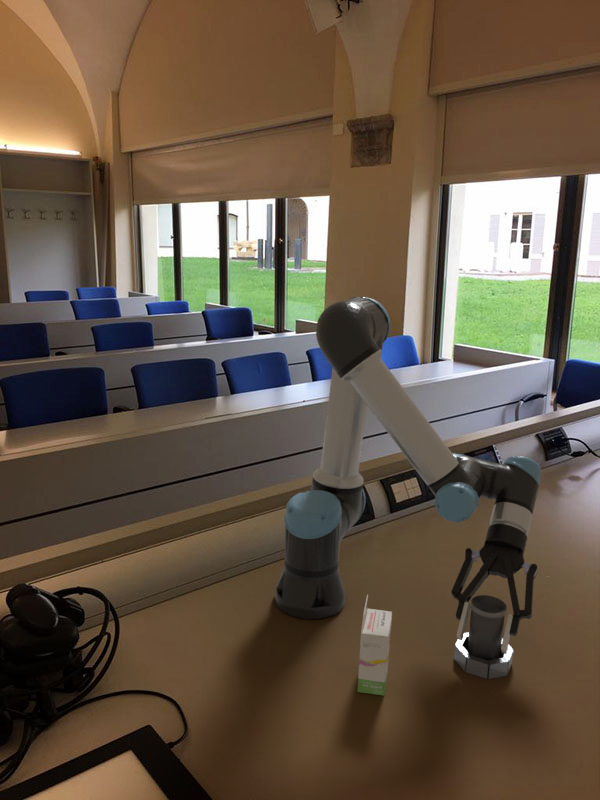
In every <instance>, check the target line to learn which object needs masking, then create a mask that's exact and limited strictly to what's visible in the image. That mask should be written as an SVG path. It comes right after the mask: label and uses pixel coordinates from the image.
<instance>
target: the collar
mask: <svg viewBox="0 0 600 800" xmlns="http://www.w3.org/2000/svg"><path fill="white" fill-rule="evenodd" d="M468 637H469V632H464V635H463V639H462V641H461V640H458V639H457V641H456V642H455V645H454V655H453V660H454V661H455V662H456V663H457V664H458V666H459V667H460V668H461V669H462V670H463V672H465V673H466V674H469V675H473V676H477V677H478V678H482V679H486V680H487V679H488V680H491V679H497V678H498V679H499V678H502V677H506V676H508V675H509V672H510V670H511V667H512V665H513V656H514V648H512V646H511V645H510V644H508V648H507V653H506V654H504V653H502V651H500V658H499V659H494V660H485V659H481V658H478V657H475V656H472V655H470V654H469V653H468V651H467V646H468ZM502 642H503V637H502ZM501 646H502V643H501Z"/></svg>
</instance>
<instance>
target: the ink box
mask: <svg viewBox="0 0 600 800" xmlns="http://www.w3.org/2000/svg"><path fill="white" fill-rule="evenodd" d="M368 599H369V594H366V599H365V604H364V608H363V613H362V621H361V622H362V623H361V628H360V645H359V657H358V658H359V659H358V660H359V661H358V676H357V677H358V678H357V693H363V694H367V695H368V694H370V695H376V696H385V691H386V685H387V676H388V669H389V659H390V657H389V656H390V645H391V633H392V622H393V621H392V620H393V619H392V618H393V611H391V610H390V611H389V610H383V609H380V610H379V609H375V608H374V609H373V608H368V607H367V606H368Z"/></svg>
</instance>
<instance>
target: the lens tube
mask: <svg viewBox="0 0 600 800" xmlns="http://www.w3.org/2000/svg"><path fill="white" fill-rule="evenodd" d="M507 608H508V607H507V604H506V603H505V601H503V600H502V599H500V598H498V597H496V596H493V595H487V594H481V595H480V594H479V595H476V596H475V595H474V597H472V598H471V599H470V619H469V629H468V633H469V637H468V646H467V651H468V653H469V654H470V655H472V656H475V657H478V658H481V659H485V660H494V659H499V658H500V651H501V643H502V638H503V635H504V634H503V633H504V624H505V616H506V615H507V610H508V609H507Z"/></svg>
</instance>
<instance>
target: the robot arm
mask: <svg viewBox="0 0 600 800" xmlns="http://www.w3.org/2000/svg"><path fill="white" fill-rule="evenodd" d="M390 332H391V318H390V314H389V313H388V311H387V309H386V307H384V305H383V304H381V303H380V302H379V301H378V300H375V299H374V298H370V297H365V296H355V297H354V296H353V297H350V298H348V299H345V300H341V301H340V300H339V301H336V302H334V303H331V304H330V305H328V306H327V307H325V309H324V310H322V312H321V314H320V315H319V317H318V319H317V322H316V327H315V336H316V340H317V345H318V347H319V349H320V350H321V352H322V354H323V356H324V357H325V359H326V360H327V362H328V363H329V364H330V366H331V367H332V371H331V376H330V377H331V378H330V379H331V380H330V386H329V393H328V403H327V410H326V411H327V412H326V421H325V427H324V436H323V445H322V454H321V459H320V460H321V461H320V467H318V468H317V469H316V470H315V471H314V472H313V473H312V479H311V488H310V490H306V491H305V492H302V491H301V492H298V493H297V494H295V495H294V496H292V497H290V499H289V501H288V502H287V504H286V507H285V513H284V514H285V515H284V564H283V565H284V566H283V569H282V572H281V575H280V577H279V580H278V582H277V585H276V588H275V598H274V599H275V604H276V606H277V607H278V608H279V609H280V611H282V612H283V613H285V614H287V615H290V616H292V617H293V618H294V617H295V618H299V619H306V620H319V619H326V618H329V617H332V616H334V615H336V614H338V613H340V612H341V611H342V610H343V609H344V607H345V604H346V590H345V586H344V584H343V580H342V576H341V574H340V573H341V572H340V571H339V569H340V568H339V563H340V562H339V561H340V544H341V541H342V540H343V539H344V537H345V536H346V535H347V533H348V532H349V531H350V530H351V528H353V526H354V525H355V524H356V523H357V522H358V521H359V520H360V519H361V517H362V516H363V513H364V511H365V506H366V501H367V500H366V493H365V490H364V488H363V487H364V477H363V476H362V475H361V473H360V472H359V469H360V462H361V453H362V446H363V438H364V434H365V433H364V432H365V424H366V417H367V411H368V408H369V410H370V411H371V413H372V414H373V415H374V417H376V419H377V420H378V423H380V424H381V425H382V427H383V428H384V430H385V431H386V433H387V434H388V435H389V436H390V437H391V439H392V440H393V442H394V443H395V444H396V446H397V447H398V448H399V449H400V451H401V452H402V454H403V455H404V457H406V459H407V460H408V461H409V463H410V464H411V465H412V467H413V468H414V469H415V471H416V473H418V474H419V476H420V478H421V479H422V480H423V482H424V483H425V484H426V486H427V487H428V488H429V490H430V491H431V493H432V494H433V495H434V497H435V498H434V505H435V509H436V511H437V513H438V514H439V516H440V517H441V518H443V519H445V520H446V521H448V522H452V523H462V522H464V521H467V520H469V519H470V517H472V515H473V514H474V513H475V511H476V510H477V509H478V507H479V502H480V499H481V498H485V499H489V500H493V501H494V504H493V507H492V508H493V509H492V512H491V516H490V519H489V526H488V528H487V532H486V536H485V540H484V544H483V547H481V548H480V549H479V550H476V549H475V550H472V549H471V548H470V547H467V548H465V550H464V551H465V555H464V561H463V563H462V565H461V567H460V568H461V569H460V571H458V572H459V573H458V574H457V578H456V580H455V582H454V584H453V587H452V589H451V595H452V597H453V599H454V600H457V601H458V605H457V608H456V612H455V618H456V620H458V621H459V625H458V628H457V632H456V635H455V636H456V637H457V640H461V641H462V639H463V635H464V633H465V630H466V627H467V623H468V619H469V615H470V612H471V604H470V601H471V600H472V598H473V596H475V594H476V592H477V591H478V590H479V589H480V587H481V586H482V584H483V583H484V582H485V580H486V579H488V578H489V576H491V575H492V576H498V577H500V578H503V579H507V585H508V590H509V595H510V601H511V607H512V612H513V614H511V613H508V616H507V621H506V624H505V628H504V632H503V633H504V634H503V636H502V638H503V642H502V646H501V651H502V653H504V654H506V653H507V648H508V644H509V643H510V638H511V636H514V637H516V636H517V635H518V632H519V628H520V627H519V626H520V623H521V622H520V621H521V620H523V619H524V620H525V619H527V620H530V619H532V617H533V604H534V603H533V601H534V597H533V596H534V585H535V584H534V582H535V579H536V577H537V574H538V572H539V571H538V564H536V563H532V564H531V563H529V562H527V561H525V559H524V558H525V557H524V555H525V550H526V547H527V541H528V536H527V535H528V534H529V531H530V528H531V522H532V518H533V513H534V509H535V506H536V500H537V496H538V492H539V488H540V482H541V476H542V467H541V466H540V464H539V463H537V462H536V461H535V460H534V459H532V458H529V457H528V456H527V457H526V456H523V455H518V456H517V455H511V456H509V457H507V458H506V460H505V461H504V463H497V462H492V461H490V460H489V461H488V460H484V459H481V458H477V457H472V456H468V455H466V454H463V453H462V454H460V453H454V452H452V451H451V450H450V449H449V447H448V446H447V445H446V443H445V442H444V440H443V439H442V438H441V437H440V435H439V434H438V433H437V432H436V430H435V429H434V427H433V426H432V424H431V423H430V422H429V421H428V419H427V418H426V417H425V415H424V414H423V413H422V411H421V410H420V408H419V407H418V406H417V405H416V404H415V401H413V399H412V397H410V396H409V394H408V392H407V391H406V390H405V389H404V387H403V386H402V384H401V383H400V382H399V380H398V379H397V378H396V377H395V375H394V374H393V373H392V371H391V370H390V368H389V367H388V366H387V365H386V363H385V362H384V360H383V359H382V353H383V346H384V343H385V342H386V341H387V339H388V337H389V335H390ZM478 558H480V560H481V562H482V566H480V568H479V571H478V572H477V573H476V575H475V576H474V577H473V578H472V580H471V582H470V583H469V584H468V585H467V587H466V588H465V589H464V586H465V584H466V581H467V579H468V577H469V575H470V572H471V570H472V567H473V563H475V562H476V561H478V560H477V559H478ZM522 568H523V571H524V575H526V577H525V579H526V580H525V593H524V594H525V595H524V608H523V609H520V604H519V598H518V593H517V587H516V583H515V582H516V581H515V577H514V576H515V574H516V573H518V572H519V571H520V570H521V569H522ZM463 589H464V591H463ZM462 591H463V592H462ZM509 645H510V644H509Z"/></svg>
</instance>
